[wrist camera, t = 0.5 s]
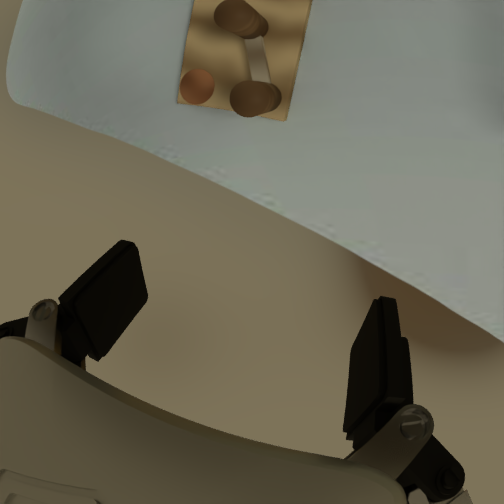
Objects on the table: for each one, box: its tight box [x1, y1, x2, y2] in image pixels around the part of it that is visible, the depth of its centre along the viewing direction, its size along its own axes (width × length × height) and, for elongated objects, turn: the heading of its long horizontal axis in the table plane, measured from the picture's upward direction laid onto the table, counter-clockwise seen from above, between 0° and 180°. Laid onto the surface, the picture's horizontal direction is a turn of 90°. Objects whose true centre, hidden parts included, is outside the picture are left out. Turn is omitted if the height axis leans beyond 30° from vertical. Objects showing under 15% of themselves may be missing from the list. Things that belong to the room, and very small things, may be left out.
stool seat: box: [177, 0, 312, 121], centre depth 22 cm, size 23×14×10 cm, turn 169°
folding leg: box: [214, 0, 282, 117], centre depth 24 cm, size 13×4×7 cm, turn 9°
